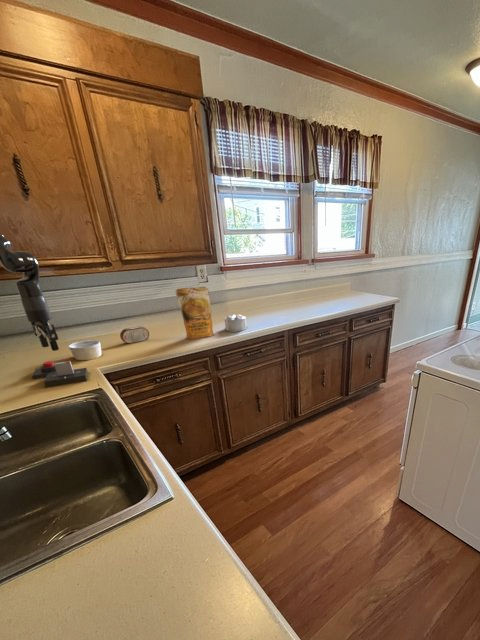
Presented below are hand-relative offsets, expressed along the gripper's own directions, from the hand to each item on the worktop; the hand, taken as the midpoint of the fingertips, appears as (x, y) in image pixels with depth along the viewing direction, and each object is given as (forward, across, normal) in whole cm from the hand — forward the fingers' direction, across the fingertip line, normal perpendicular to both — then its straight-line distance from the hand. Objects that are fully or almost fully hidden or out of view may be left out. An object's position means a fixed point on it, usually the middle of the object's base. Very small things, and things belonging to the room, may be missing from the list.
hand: (50, 348), depth 133 cm
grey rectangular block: (+10, -6, 0) cm, 12 cm away
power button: (+9, +8, 0) cm, 12 cm away
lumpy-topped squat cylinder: (+13, -8, -100) cm, 101 cm away
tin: (+13, +20, -49) cm, 54 cm away
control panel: (+13, -6, 0) cm, 14 cm away
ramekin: (+13, +17, -20) cm, 29 cm away
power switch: (+13, +8, 0) cm, 15 cm away
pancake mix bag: (+13, -2, -75) cm, 76 cm away
